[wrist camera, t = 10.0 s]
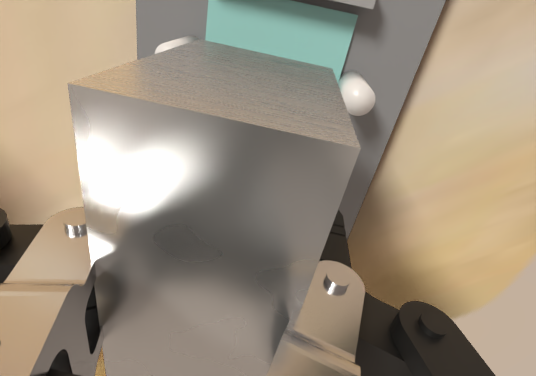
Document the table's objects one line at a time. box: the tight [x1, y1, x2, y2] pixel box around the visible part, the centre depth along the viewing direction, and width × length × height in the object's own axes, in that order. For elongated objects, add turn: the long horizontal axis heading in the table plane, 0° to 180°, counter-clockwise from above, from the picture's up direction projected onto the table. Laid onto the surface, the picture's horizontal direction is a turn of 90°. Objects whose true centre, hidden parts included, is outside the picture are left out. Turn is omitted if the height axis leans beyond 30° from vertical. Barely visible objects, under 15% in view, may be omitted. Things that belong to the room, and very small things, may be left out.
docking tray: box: [136, 0, 446, 239], centre depth 16 cm, size 13×18×4 cm
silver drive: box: [68, 39, 361, 376], centre depth 9 cm, size 4×9×6 cm, turn 169°
